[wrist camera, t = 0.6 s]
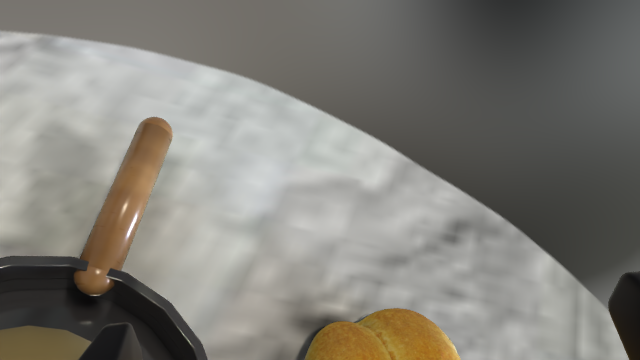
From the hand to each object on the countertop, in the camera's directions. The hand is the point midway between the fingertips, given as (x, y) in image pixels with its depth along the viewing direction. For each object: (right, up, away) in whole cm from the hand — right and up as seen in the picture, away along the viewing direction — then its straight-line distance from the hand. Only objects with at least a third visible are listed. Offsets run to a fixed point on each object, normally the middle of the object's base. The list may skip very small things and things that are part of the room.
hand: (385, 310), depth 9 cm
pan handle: (-10, +1, +13) cm, 16 cm away
